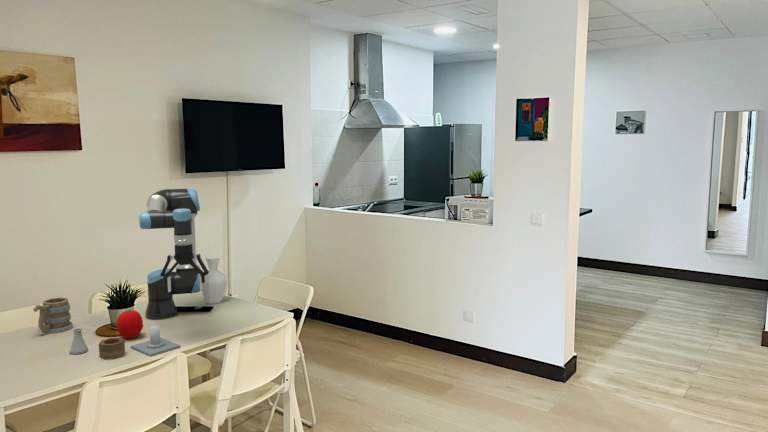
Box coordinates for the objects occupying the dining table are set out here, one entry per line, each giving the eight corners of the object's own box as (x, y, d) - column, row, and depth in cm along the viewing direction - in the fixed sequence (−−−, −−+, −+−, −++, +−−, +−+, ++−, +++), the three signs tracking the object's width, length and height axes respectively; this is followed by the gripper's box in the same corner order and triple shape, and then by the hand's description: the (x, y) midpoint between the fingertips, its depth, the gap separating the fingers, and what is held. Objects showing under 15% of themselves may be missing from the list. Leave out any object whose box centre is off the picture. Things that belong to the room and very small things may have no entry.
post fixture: (130, 348, 252) (129, 326, 251) (160, 339, 263) (159, 319, 262) (150, 356, 242) (149, 334, 241) (180, 347, 253) (179, 326, 252)
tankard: (56, 323, 285) (53, 294, 283) (78, 325, 282) (76, 295, 280) (23, 337, 265) (20, 305, 263) (47, 339, 263) (44, 307, 261)
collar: (96, 355, 243) (95, 341, 243) (117, 349, 250) (116, 336, 249) (107, 360, 238) (106, 346, 237) (128, 354, 245) (127, 340, 244)
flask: (75, 348, 252) (73, 326, 250) (91, 348, 251) (90, 326, 250) (65, 354, 244) (64, 331, 243) (82, 355, 244) (81, 332, 243)
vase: (212, 306, 314) (211, 261, 311) (195, 302, 322) (193, 258, 318) (233, 300, 326) (231, 256, 322) (215, 296, 334) (214, 254, 330)
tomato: (140, 341, 261) (138, 313, 259) (114, 342, 259) (112, 314, 258) (146, 332, 272) (144, 306, 270) (121, 334, 270) (120, 307, 269)
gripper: (151, 246, 251) (154, 294, 254) (211, 244, 255) (213, 291, 258) (155, 243, 259) (157, 289, 261) (213, 241, 263) (215, 287, 266)
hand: (185, 290), depth 260 cm, fingers open, 13 cm apart
